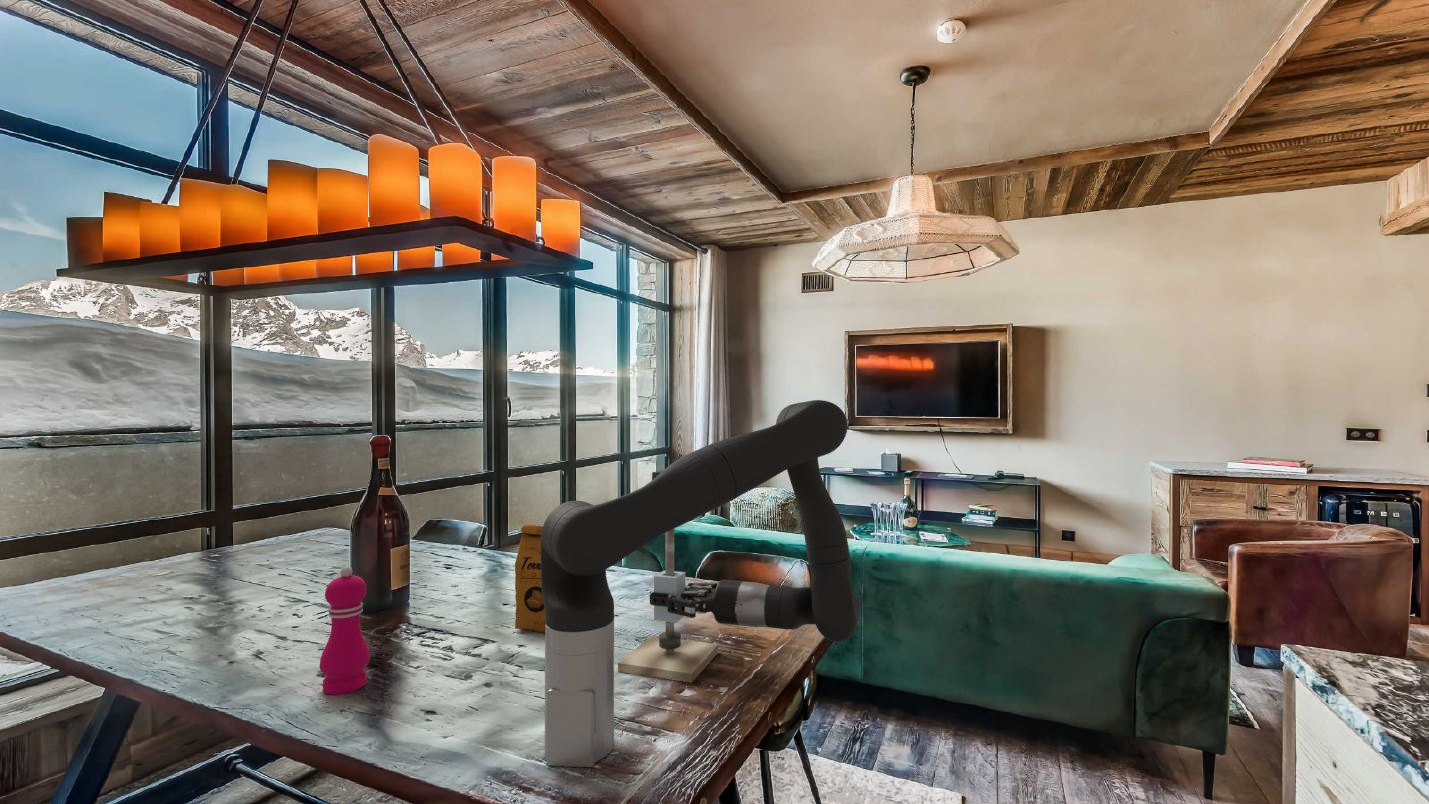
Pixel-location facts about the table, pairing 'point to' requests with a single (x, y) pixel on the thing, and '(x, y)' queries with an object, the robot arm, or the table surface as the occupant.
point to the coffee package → (529, 581)
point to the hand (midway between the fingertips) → (656, 594)
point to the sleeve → (668, 586)
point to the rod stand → (669, 644)
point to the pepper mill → (345, 636)
